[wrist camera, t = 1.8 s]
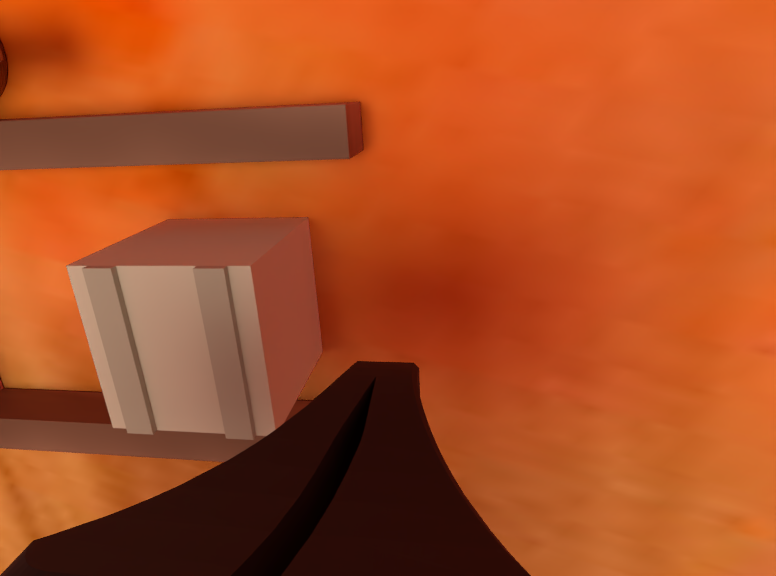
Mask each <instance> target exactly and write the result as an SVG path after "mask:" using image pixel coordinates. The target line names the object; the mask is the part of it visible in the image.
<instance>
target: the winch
mask: <svg viewBox="0 0 776 576" xmlns="http://www.w3.org/2000/svg"><path fill="white" fill-rule="evenodd" d="M6 80H7V61H6V56H5V52H4V49H3V46H2V44H1V42H0V95H1V94H2V92H3V90H4V87H5V84H6Z"/></svg>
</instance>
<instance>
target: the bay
mask: <svg viewBox="0 0 776 576" xmlns="http://www.w3.org/2000/svg"><path fill="white" fill-rule="evenodd" d="M362 150H363V139H362V123H361V108H360V102H344V103H324V104H303V105H283V106H263V107H243V108H222V109H202V110H182V111H162V112H142V113H121V114H101V115H81V116H61V117H40V118H20V119H0V170H17V169H48V168H79V167H110V166H141V165H172V164H203V163H234V162H264V161H295V160H326V159H350V158H351V157H353V156H354V155H356V154H358V153H359V152H361V151H362ZM310 402H312V401H300V400H296V402H295V404H294V405H293V407H292V409H291V411H290V413H289V415H288V416H287V418H286V420H285V422H286V421H287V420H289V419H290V418H291V417H293V416H294V415H295V414H297V413H298V412H299V411H300V410H302V409H303V408H304V407H306V406H307V405H308V404H309V403H310ZM285 422H284V423H285ZM264 437H266V436H257V435H256V436H255V438H254V440H244V439H226V436H225V434H219V433H200V432H181V431H162V430H157V431H156V432H155V433H154V434H153V435H152V434H133V433H127V429H124V428H113V426H112V423H111V419H110V416H109V413H108V409H107V406H106V402H105V399H104V395H103V392H82V391H58V390H34V389H9V388H3V385H2V382H1V380H0V448H6V449H23V450H39V451H55V452H72V453H88V454H104V455H120V456H137V457H153V458H169V459H185V460H202V461H218V462H226V461H227V460H229V459H231V458H233V457H234V456H236V455H237V454H239V453H241V452H242V451H244V450H246V449H247V448H249V447H250V446H252V445H254V444H255V443H257V442H258V441H260V440H261V439H263V438H264Z"/></svg>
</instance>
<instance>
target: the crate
mask: <svg viewBox="0 0 776 576" xmlns="http://www.w3.org/2000/svg"><path fill="white" fill-rule="evenodd" d="M66 267H67V271H68V274H69V277H70V281H71V284H72V288H73V291H74V295H75V298H76V302H77V305H78V309H79V312H80V316H81V319H82V322H83V326H84V329H85V333H86V336H87V340H88V343H89V347H90V350H91V354H92V357H93V361H94V364H95V367H96V371H97V374H98V378H99V381H100V385H101V388H102V392H103V395H104V399H105V402H106V406H107V409H108V413H109V416H110V419H111V423H112V426H113V428H124V429H127V433H133V434H152V435H153V434H154V433H155V432H156V431H157V430H162V431H181V432H200V433H219V434H225V436H226V439H244V440H254V438H255V436H256V435H257V436H267V435H269V434H270V433H271V432H273V431H274V430H276V429H277V428H278V427H280V426H281V425H282V424H283V423H284V422H285V420H286V418H287V416H288V415H289V413H290V411H291V409H292V407H293V405H294V404H295V402H296V400H297V398H298V396H299V394H300V393H301V391H302V389H303V387H304V385H305V383H306V382H307V380H308V378H309V376H310V374H311V372H312V371H313V369H314V367H315V365H316V363H317V361H318V360H319V358H320V356H321V354H322V352H323V349H322V340H321V331H320V322H319V312H318V303H317V294H316V284H315V275H314V266H313V256H312V247H311V238H310V228H309V219H308V217H290V218H222V219H168V220H166V221H163V222H161V223H159V224H157V225H155V226H152V227H150V228H148V229H146V230H144V231H141V232H139V233H137V234H135V235H133V236H130V237H128V238H126V239H124V240H122V241H120V242H117V243H115V244H113V245H111V246H109V247H106V248H104V249H102V250H100V251H98V252H95V253H93V254H91V255H89V256H87V257H84V258H82V259H80V260H78V261H76V262H73V263H71V264H69V265H67V266H66Z"/></svg>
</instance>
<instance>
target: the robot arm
mask: <svg viewBox="0 0 776 576" xmlns="http://www.w3.org/2000/svg"><path fill="white" fill-rule="evenodd" d="M0 576H531V575H530V574H529V573H528V572H527V571H526V570H525V569H524V568H523V567H522V566H521V565H520V564H519V563H518V562H517V561H516V560H515V558H514V557H513V556H512V555H511V554H510V553H509V552H508V551H507V549H506V548H505V547H504V546H503V545H502V544H501V542H500V541H499V540H498V539H497V538H496V536H495V535H494V534H493V533H492V532H491V531H490V529H489V528H488V526H487V525H486V524H485V522H484V521H483V520H482V518H481V517H480V516H479V514H478V513H477V511H476V510H475V509H474V507H473V506H472V505H471V503H470V502H469V500H468V499H467V498H466V496H465V495H464V493H463V492H462V490H461V488H460V487H459V485H458V483H457V482H456V480H455V479H454V477H453V475H452V473H451V472H450V470H449V468H448V466H447V464H446V463H445V461H444V459H443V457H442V455H441V453H440V450H439V448H438V446H437V444H436V442H435V439H434V437H433V435H432V432H431V430H430V427H429V424H428V422H427V419H426V416H425V413H424V409H423V406H422V403H421V399H420V383H419V368H418V367H417V366H416V365H415V364H414V363H401V362H368V361H357V362H356V363H355V364H354V365H352V366H351V367H350V368H349V369H348V370H347V371H346V372H345V373H343V374H342V375H341V376H340V377H339V378H338V379H337V380H336V381H335V382H333V383H332V384H331V385H330V386H329V387H328V388H327V389H326V390H324V391H323V392H322V393H321V394H320V395H319V396H317V397H316V398H315V399H314V400H313V401H312V402H310V403H309V404H308V405H307V406H306V407H304V408H303V409H302V410H300V411H299V412H298V413H297V414H295V415H294V416H293V417H291V418H290V419H289V420H287V421H286V422H285V423H283V424H282V425H281V426H280V427H278V428H277V429H276V430H274V431H273V432H271V433H270V434H269V435H267V436H266V437H264V438H263V439H261V440H260V441H258V442H257V443H255V444H254V445H252V446H250V447H249V448H247V449H246V450H244V451H242V452H241V453H239V454H237V455H236V456H234V457H233V458H231V459H229V460H227V461H226V462H224V463H222V464H220V465H218V466H216V467H214V468H212V469H210V470H208V471H207V472H205V473H203V474H201V475H199V476H197V477H195V478H193V479H191V480H189V481H187V482H185V483H183V484H181V485H179V486H177V487H175V488H173V489H171V490H168V491H166V492H164V493H162V494H160V495H157V496H155V497H153V498H151V499H148V500H146V501H143V502H141V503H138V504H136V505H134V506H131V507H129V508H126V509H124V510H121V511H119V512H116V513H113V514H111V515H108V516H105V517H103V518H100V519H97V520H94V521H91V522H88V523H85V524H82V525H79V526H76V527H73V528H70V529H67V530H65V531H62V532H59V533H56V534H53V535H50V536H47V537H43V538H40V539H37V540H34V541H33V542H32V543H31V544H30V545H29V546H28V547H27V548H26V549H25V550H24V551H23V552H22V553H21V554H20V555H19V556H18V557H17V558H16V559H15V560H14V561H13V563H12V564H11V565H10V566H9V567H8V568H7V569H6V570H5V571H4V572H3V573H2V574H1V575H0Z"/></svg>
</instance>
